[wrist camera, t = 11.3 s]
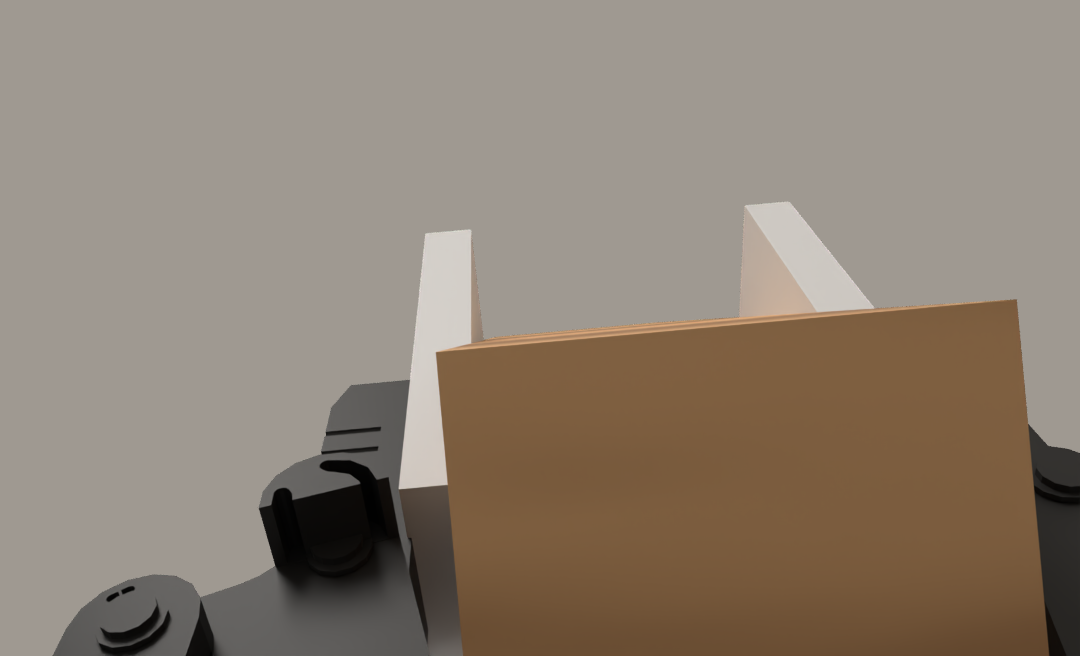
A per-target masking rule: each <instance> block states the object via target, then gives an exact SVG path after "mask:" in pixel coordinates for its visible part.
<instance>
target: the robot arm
mask: <svg viewBox="0 0 1080 656" xmlns="http://www.w3.org/2000/svg"><path fill="white" fill-rule="evenodd" d="M859 309H875V308H874V307H873V306H872V304H871V303H870V302H869V301H868V299H867V298H866V297H865V296H864V294H863V293H862V292H861V291H860V289H859V288H858V287H857V286H856V284H855V283H854V282H853V281H852V279H851V278H850V277H849V276H848V274H847V273H846V272H845V271H844V269H843V268H842V267H841V266H840V264H839V263H838V262H837V261H836V259H835V258H834V257H833V256H832V254H831V253H830V252H829V251H828V249H827V248H826V247H825V246H824V244H823V243H822V242H821V241H820V239H819V238H818V237H817V236H816V234H815V233H814V232H813V231H812V229H811V228H810V227H809V226H808V224H807V223H806V222H805V221H804V219H803V218H802V217H801V216H800V214H799V213H798V212H797V211H796V209H795V208H794V207H793V206H792V205H791V203H790V202H779V203H767V204H756V205H745V207H744V227H743V249H742V269H741V289H740V310H739V317H751V316H767V315H782V314H798V313H814V312H828V311H844V310H859ZM479 341H483V331H482V322H481V313H480V305H479V295H478V287H477V278H476V269H475V261H474V251H473V242H472V234H471V230H459V231H449V232H436V233H426V234H425V244H424V253H423V262H422V272H421V281H420V291H419V301H418V310H417V319H416V329H415V338H414V348H413V357H412V366H411V377H410V380H405V381H395V382H394V381H393V382H382V383H373V384H362V385H361V384H360V385H351V386H350V387H349V388H348V389H347V391H346V392H345V393H344V394H343V395H342V396H341V397H340V399H339V400H338V401H337V402H336V403H335V404H334V405H333V406H332V408H331V411H330V416H329V420H328V425H327V429H326V437H324V442H323V446H322V451H321V453H322V455H318V456H315V457H312V458H309V459H306V460H303V461H301V462H298V463H295V464H294V465H292V466H291V467H289V468H287V469H286V470H284V471H283V472H281V473H280V474H278V475H277V476H276V477H275V478H274V479H273V480H272V481H271V483H270V484H269V485H268V486H267V487H266V489H265V490H264V491H263V494H262V498H261V501H260V505H259V510H260V514H261V517H262V521H263V524H264V527H265V531H266V534H267V538H268V542H269V545H270V549H271V552H272V555H273V559H274V563H275V566H274V567H273V568H271V569H270V570H268V571H266V572H265V573H263V574H262V575H260V576H258V577H256V578H254V579H251V580H249V581H246V582H244V583H242V584H239V585H236V586H233V587H230V588H227V589H224V590H222V591H218V592H215V593H213V594H209V595H207V596H203V597H201V598H200V596H199V595H198V593H197V591H196V590H195V588H194V586H193V585H192V584H191V583H189V582H187V581H185V580H183V579H181V578H179V577H177V576H168V575H149V576H145V577H141V578H136V579H131V580H127V581H125V582H123V583H121V584H119V585H117V586H114V587H112V588H110V589H108V590H106V591H104V592H102V593H101V594H99V595H98V596H97V597H96V598H94V599H93V600H92V601H91V602H89V603H88V604H87V605H85V606H84V607H83V608H82V609H81V610H80V611H79V612H78V614H77V615H76V616H75V618H74V619H73V620H72V622H71V623H70V624H69V626H68V627H67V629H66V630H65V632H64V634H63V636H62V638H61V640H60V642H59V644H58V646H57V648H56V650H55V652H54V655H53V656H463V650H462V639H461V628H460V617H459V606H458V594H457V583H456V572H455V561H454V550H453V539H452V528H451V517H450V506H449V495H448V484H447V472H446V461H445V450H444V439H443V428H442V417H441V406H440V395H439V384H438V373H437V361H436V352H438V351H442V350H446V349H450V348H454V347H458V346H462V345H466V344H471V343H475V342H479ZM1028 429H1029V440H1030V451H1031V462H1032V473H1033V484H1034V495H1035V505H1036V516H1037V527H1038V538H1039V549H1040V560H1041V571H1042V582H1043V593H1044V604H1045V615H1046V626H1047V637H1048V648H1049V656H1080V453H1078V452H1075V451H1072V450H1069V449H1065V448H1058V447H1051V446H1048V445H1047V444H1046V443H1045V442H1044V441H1043V440H1042V439H1041V438H1040V437H1039V435H1038V434H1037V433H1036V432H1035V431H1034V430H1033V429H1032V428H1031V427H1030V425H1029V424H1028Z"/></svg>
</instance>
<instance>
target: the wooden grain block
mask: <svg viewBox="0 0 1080 656" xmlns="http://www.w3.org/2000/svg"><path fill="white" fill-rule="evenodd" d="M436 361H437V373H438V384H439V395H440V406H441V417H442V428H443V439H444V450H445V461H446V472H447V484H448V495H449V506H450V517H451V528H452V539H453V550H454V561H455V572H456V583H457V594H458V606H459V617H460V628H461V639H462V650H463V656H1049V648H1048V637H1047V626H1046V615H1045V604H1044V593H1043V582H1042V571H1041V560H1040V549H1039V538H1038V527H1037V516H1036V505H1035V495H1034V484H1033V473H1032V462H1031V451H1030V440H1029V429H1028V418H1027V407H1026V396H1025V385H1024V375H1023V363H1022V352H1021V341H1020V331H1019V319H1018V309H1017V300H1000V301H984V302H969V303H953V304H938V305H922V306H909V307H907V306H906V307H891V308H876V309H859V310H844V311H828V312H814V313H798V314H782V315H767V316H751V317H736V318H719V319H703V320H689V321H673V322H657V323H647V324H646V323H645V324H634V325H624V326H614V327H613V326H612V327H601V328H591V329H580V330H569V331H558V332H546V333H535V334H524V335H513V336H502V337H494V338H490V339H486V340H483V341H479V342H475V343H471V344H466V345H462V346H458V347H454V348H450V349H446V350H442V351H438V352H436Z"/></svg>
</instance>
